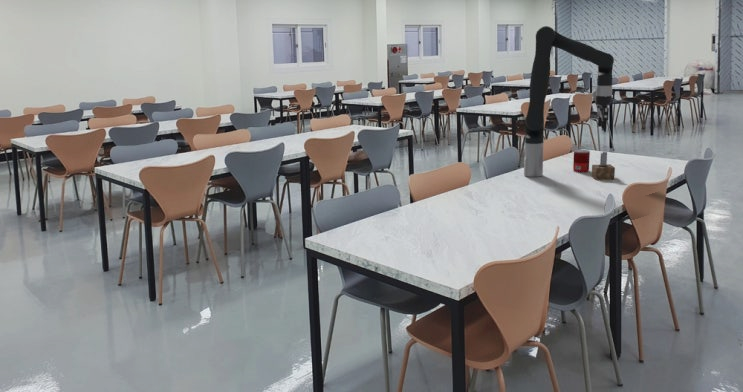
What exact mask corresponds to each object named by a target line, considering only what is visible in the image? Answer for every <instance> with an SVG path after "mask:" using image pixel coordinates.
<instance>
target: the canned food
mask: <svg viewBox="0 0 743 392" xmlns="http://www.w3.org/2000/svg"><path fill="white" fill-rule="evenodd" d="M590 155H591V153H590V150H588V149H575V150H573V166H572V167H573V168H572V169H573V172H574V173H575V172H576V173H587V172H589V170H590Z"/></svg>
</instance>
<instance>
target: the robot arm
mask: <svg viewBox="0 0 743 392" xmlns="http://www.w3.org/2000/svg"><path fill="white" fill-rule="evenodd" d="M552 48H557V49H560V50H562V51H564V52H567V53H568V54H570V55H572V56H574V57H577V58H579V59H580V60H583V61H586V62H590V63H592V64H594V65H596V66H597V68H598V69H597V71H598V73H597V79H596V88H595V89H596V90H595V100H594V101H595V103H594V104H595V105H597V110H596V117H597V127H599V128H600V127H601V128H600V129H601V130H606V129H607V123H608V121H609V113H610V108H609V107H608V106H611V105H612V103H613V102H612V100H613V67H614V60H615V59H614V56H613V55H612V54H611V53H608V52H605V51H602V50H599V49H597V48H595V47H594V46H591V45H589V44H586V43H583V42H581V41H578V40H575V39H572V38H569V37H566V36H564V35H563V34H560V33H559V32H558V31H555V30H554V28H552V27H550V26H549V25H548V26H547V25H545V26H542V27H539V28H538V30H537V31H536V33H535V53H534V54H535V55H534V59H533V62H532V67H531V73H530V79H529V103H528V109H527V114H526V116H525V119H524V122H525V128H524V129H525V130H524V131H525V133H524V135H525V136H524V158H523V175H524V177H530V178H533V177H534V178H536V177H537V178H538V177H542V176H543V175H544V174H543V173H544V139H545V138H544V137H545V136H544V130H545V118H544V115H545V114H544V113H545V112H544V111H545V103H546V102H545V101H546V97H547V94H548V89H549V85H550V76H551V52H552V50H553V49H552Z"/></svg>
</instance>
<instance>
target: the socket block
mask: <svg viewBox="0 0 743 392" xmlns="http://www.w3.org/2000/svg"><path fill="white" fill-rule="evenodd" d="M615 171H616V167H615V166H613V165H612V164H607V167H600V164H591V177H592V178H593V179H594V180H596V181H597V180H598V181H600V180H601V181H605V180H606V181H611V180H613V181H614V180H615V176H616V175H615V174H616V172H615Z"/></svg>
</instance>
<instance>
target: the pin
mask: <svg viewBox="0 0 743 392" xmlns="http://www.w3.org/2000/svg"><path fill="white" fill-rule="evenodd" d="M607 162H608V152H607V151H601V152H600V161H599V163H600V164H599V165H600V167H607Z"/></svg>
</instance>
